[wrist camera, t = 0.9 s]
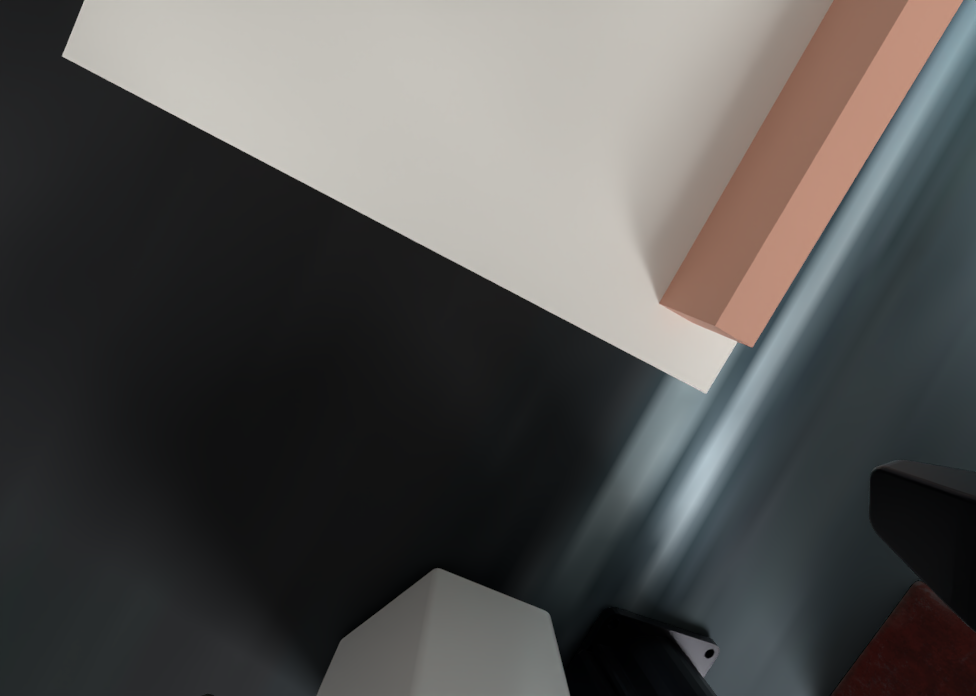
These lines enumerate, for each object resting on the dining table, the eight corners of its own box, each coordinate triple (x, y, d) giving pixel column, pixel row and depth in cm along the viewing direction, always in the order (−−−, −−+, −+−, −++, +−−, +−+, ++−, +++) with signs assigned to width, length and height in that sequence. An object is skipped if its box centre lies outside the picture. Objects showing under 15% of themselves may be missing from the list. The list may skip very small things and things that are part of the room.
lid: (917, -6, 16) (1062, -49, 13) (686, 381, 18) (764, 428, 14) (349, -591, 10) (359, -927, 7) (82, 64, 12) (-6, 27, 9)
